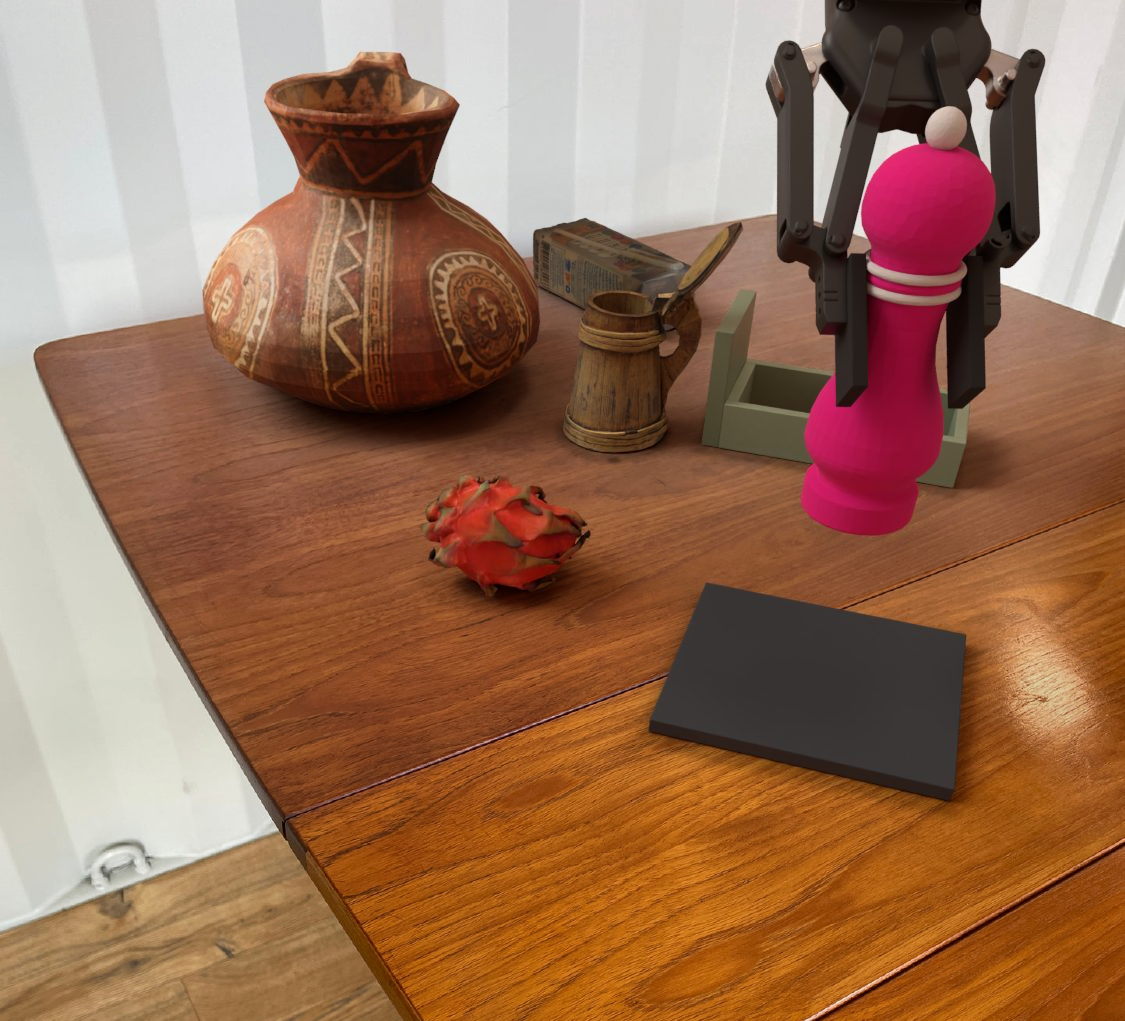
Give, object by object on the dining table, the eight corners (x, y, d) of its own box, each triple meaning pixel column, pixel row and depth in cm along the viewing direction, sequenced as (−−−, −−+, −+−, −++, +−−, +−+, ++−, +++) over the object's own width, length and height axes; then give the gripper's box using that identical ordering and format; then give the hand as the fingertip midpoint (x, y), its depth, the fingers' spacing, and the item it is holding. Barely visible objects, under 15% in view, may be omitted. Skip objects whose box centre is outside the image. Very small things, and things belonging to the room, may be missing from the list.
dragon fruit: (412, 589, 79) (572, 610, 81) (412, 584, 71) (590, 607, 73) (425, 472, 79) (587, 495, 80) (426, 453, 70) (606, 479, 72)
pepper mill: (912, 553, 58) (1032, 134, 45) (779, 525, 60) (856, 114, 46) (927, 492, 63) (1039, 99, 50) (804, 468, 65) (880, 83, 51)
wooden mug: (713, 463, 92) (743, 240, 80) (556, 448, 93) (563, 226, 81) (716, 418, 99) (744, 205, 87) (569, 404, 100) (577, 193, 88)
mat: (962, 645, 74) (966, 633, 73) (950, 801, 62) (954, 789, 62) (704, 593, 77) (705, 581, 77) (648, 731, 66) (649, 719, 65)
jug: (586, 423, 97) (601, 106, 80) (247, 474, 88) (185, 130, 72) (480, 306, 118) (475, 34, 101) (197, 338, 109) (139, 45, 92)
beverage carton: (637, 341, 112) (642, 275, 107) (528, 286, 123) (528, 224, 118) (694, 325, 115) (701, 260, 111) (583, 273, 126) (586, 212, 122)
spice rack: (958, 435, 98) (991, 324, 91) (952, 488, 90) (988, 371, 84) (725, 397, 102) (740, 288, 96) (701, 445, 95) (715, 330, 88)
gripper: (1040, 2, 58) (1050, 427, 57) (708, -9, 57) (712, 422, 56) (1118, -115, 51) (1131, 370, 50) (737, -130, 50) (743, 363, 49)
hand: (909, 396), depth 53 cm, fingers closed on pepper mill, 5 cm apart
